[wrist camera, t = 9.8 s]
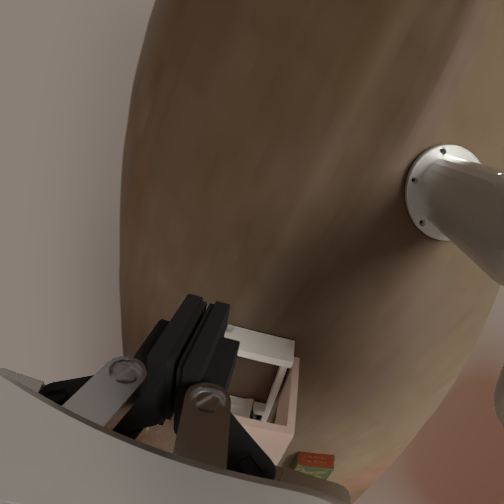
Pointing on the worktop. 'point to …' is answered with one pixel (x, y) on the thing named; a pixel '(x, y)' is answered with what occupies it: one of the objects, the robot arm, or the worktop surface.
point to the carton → (314, 464)
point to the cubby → (277, 419)
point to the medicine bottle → (245, 410)
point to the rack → (263, 351)
